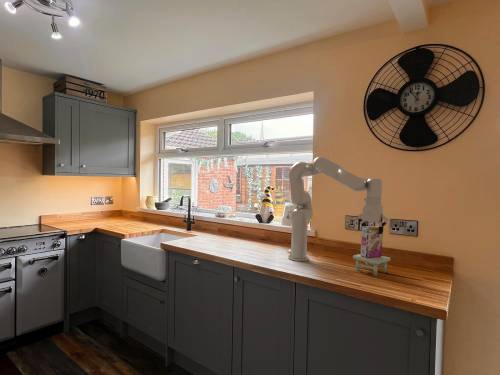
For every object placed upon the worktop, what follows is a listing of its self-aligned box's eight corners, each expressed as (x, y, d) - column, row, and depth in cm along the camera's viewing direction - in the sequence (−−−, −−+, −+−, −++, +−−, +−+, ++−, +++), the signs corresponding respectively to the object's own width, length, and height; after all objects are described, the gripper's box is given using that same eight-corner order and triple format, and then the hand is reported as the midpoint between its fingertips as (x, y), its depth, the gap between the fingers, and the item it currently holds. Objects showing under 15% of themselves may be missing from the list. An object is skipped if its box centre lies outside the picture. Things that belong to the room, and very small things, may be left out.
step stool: (352, 270, 163) (352, 255, 163) (365, 266, 172) (366, 252, 172) (376, 276, 152) (377, 261, 152) (389, 272, 161) (390, 257, 161)
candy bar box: (366, 258, 158) (368, 227, 157) (359, 256, 162) (361, 226, 162) (382, 257, 162) (383, 227, 162) (375, 255, 167) (376, 225, 166)
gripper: (355, 199, 166) (353, 230, 166) (385, 202, 153) (383, 235, 153) (362, 199, 171) (361, 229, 171) (392, 202, 157) (390, 234, 158)
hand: (371, 232), depth 162 cm, fingers open, 9 cm apart
